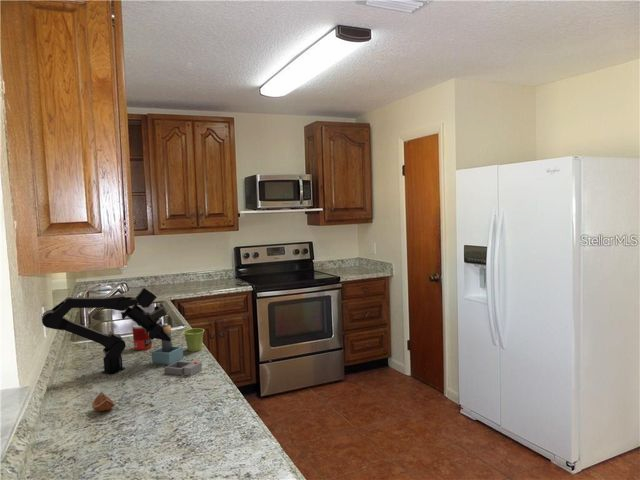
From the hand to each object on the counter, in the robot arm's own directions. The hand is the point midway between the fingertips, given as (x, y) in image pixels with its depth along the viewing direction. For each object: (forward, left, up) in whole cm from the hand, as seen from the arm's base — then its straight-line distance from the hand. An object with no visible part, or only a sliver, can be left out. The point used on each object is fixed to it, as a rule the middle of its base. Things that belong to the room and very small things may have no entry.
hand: (169, 339), depth 201 cm
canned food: (+11, +25, -9) cm, 29 cm away
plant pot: (+15, -1, -9) cm, 18 cm away
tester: (-10, -14, -9) cm, 19 cm away
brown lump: (-47, -11, -9) cm, 49 cm away
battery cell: (-1, +1, -7) cm, 7 cm away
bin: (-1, +1, -9) cm, 9 cm away
